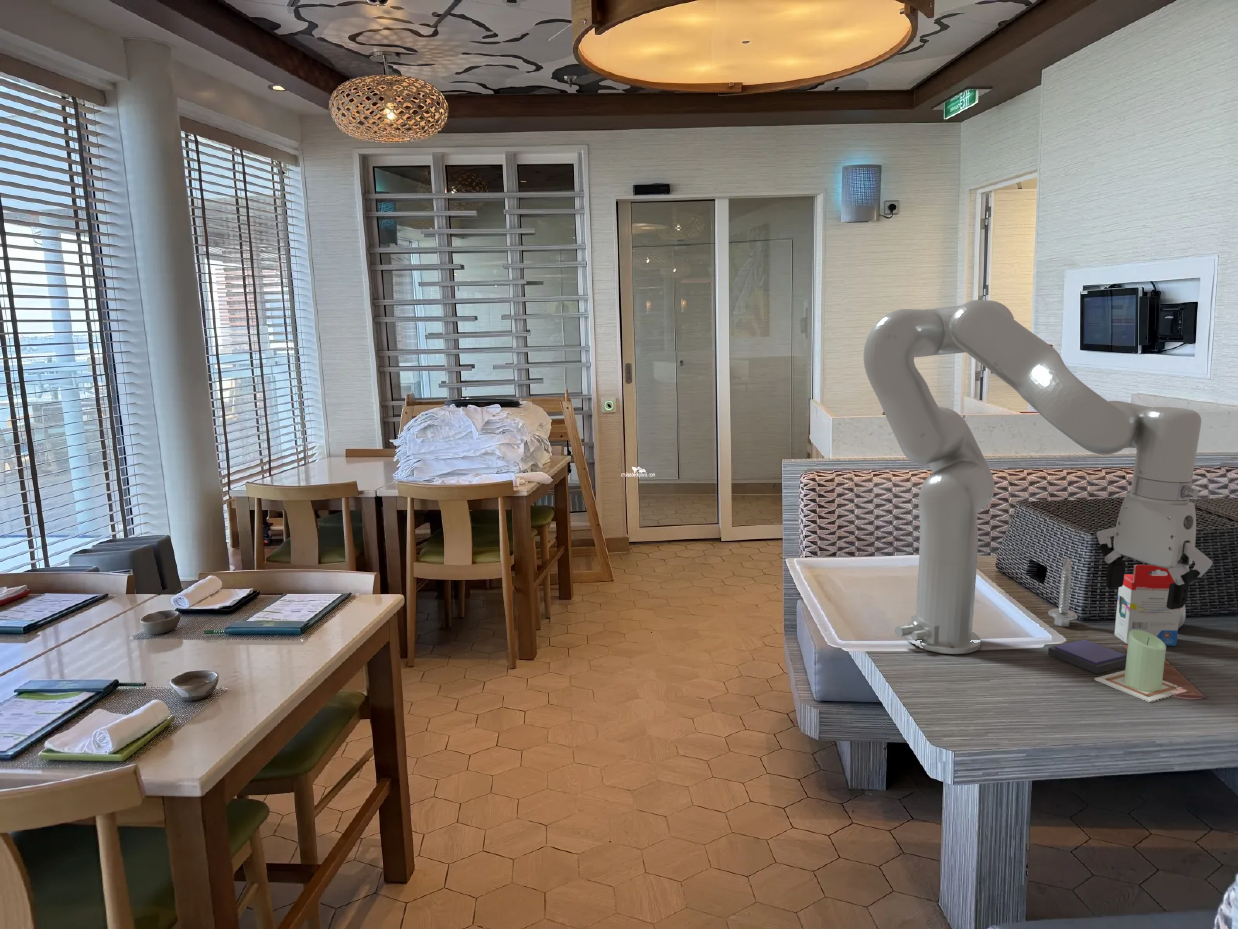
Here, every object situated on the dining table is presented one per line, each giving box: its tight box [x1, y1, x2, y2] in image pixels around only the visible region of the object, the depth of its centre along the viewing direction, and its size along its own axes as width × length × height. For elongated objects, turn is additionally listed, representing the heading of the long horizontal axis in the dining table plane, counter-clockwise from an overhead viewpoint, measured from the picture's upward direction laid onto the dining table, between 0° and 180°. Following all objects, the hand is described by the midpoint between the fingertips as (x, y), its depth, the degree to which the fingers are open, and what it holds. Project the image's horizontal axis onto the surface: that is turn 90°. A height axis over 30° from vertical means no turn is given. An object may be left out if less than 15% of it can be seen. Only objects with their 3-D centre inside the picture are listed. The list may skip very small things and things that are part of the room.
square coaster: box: [1094, 669, 1183, 703], centre depth 133 cm, size 9×9×1 cm
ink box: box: [1114, 564, 1180, 647], centre depth 150 cm, size 8×5×15 cm, turn 84°
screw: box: [1047, 557, 1078, 627], centre depth 159 cm, size 13×5×5 cm
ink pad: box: [1047, 638, 1127, 675], centre depth 143 cm, size 9×9×2 cm
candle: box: [1124, 630, 1167, 691], centre depth 132 cm, size 5×5×8 cm
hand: (1143, 597), depth 131 cm, fingers open, 9 cm apart
